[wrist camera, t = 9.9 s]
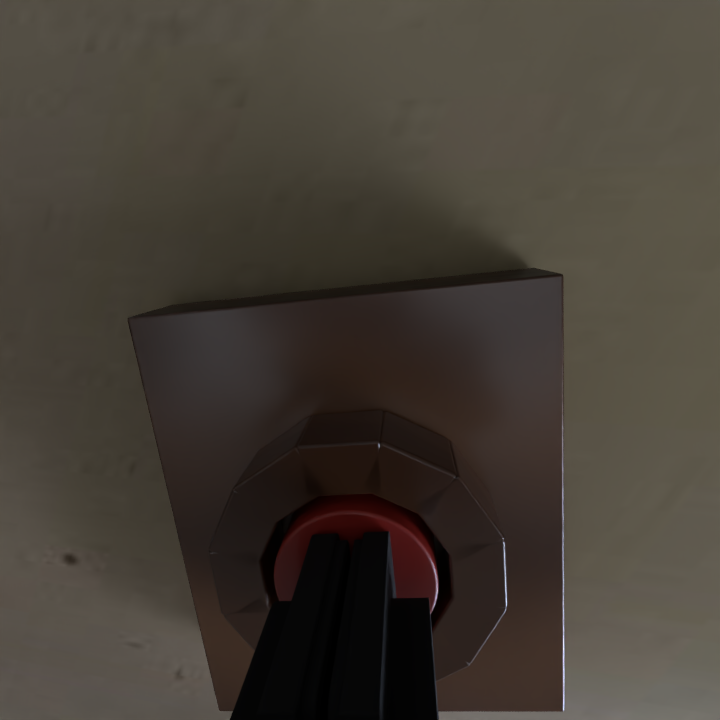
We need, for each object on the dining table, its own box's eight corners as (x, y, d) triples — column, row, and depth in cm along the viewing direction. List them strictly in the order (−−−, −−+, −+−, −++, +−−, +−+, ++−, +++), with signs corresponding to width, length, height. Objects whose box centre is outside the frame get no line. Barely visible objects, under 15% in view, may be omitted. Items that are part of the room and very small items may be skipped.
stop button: (281, 475, 11) (260, 515, 10) (428, 466, 11) (432, 507, 9) (301, 597, 12) (285, 653, 11) (438, 593, 12) (444, 652, 10)
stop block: (170, 305, 13) (73, 332, 9) (535, 267, 12) (599, 281, 8) (242, 649, 16) (192, 779, 12) (542, 645, 15) (590, 787, 11)
